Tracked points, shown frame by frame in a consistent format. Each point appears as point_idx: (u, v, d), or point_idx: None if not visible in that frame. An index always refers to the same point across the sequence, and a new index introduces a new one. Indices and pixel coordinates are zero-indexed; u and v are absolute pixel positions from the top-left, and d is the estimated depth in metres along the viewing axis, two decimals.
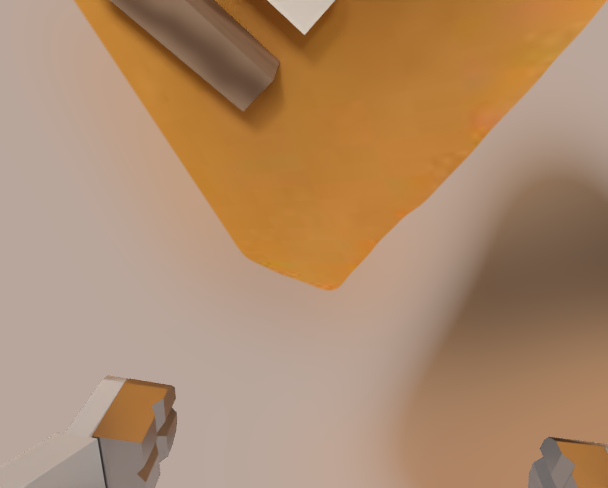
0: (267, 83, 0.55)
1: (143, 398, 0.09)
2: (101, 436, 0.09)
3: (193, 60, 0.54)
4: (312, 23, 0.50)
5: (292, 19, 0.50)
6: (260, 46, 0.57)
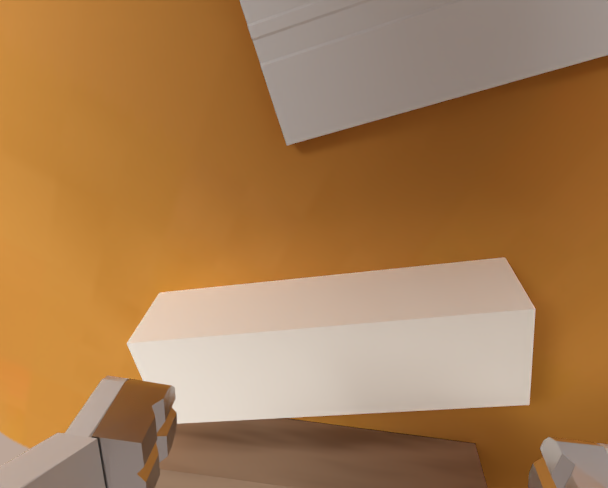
0: None
1: (143, 398, 0.09)
2: (101, 436, 0.09)
3: None
4: (527, 382, 0.23)
5: (487, 402, 0.24)
6: (432, 445, 0.31)
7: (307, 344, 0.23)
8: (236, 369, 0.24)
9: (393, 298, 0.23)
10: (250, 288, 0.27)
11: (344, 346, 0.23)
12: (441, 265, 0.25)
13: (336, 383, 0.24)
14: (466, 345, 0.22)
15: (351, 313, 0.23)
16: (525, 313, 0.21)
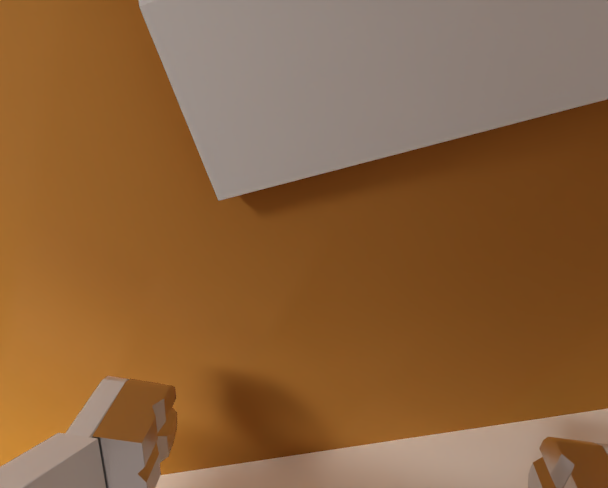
0: None
1: (144, 398, 0.09)
2: (102, 436, 0.09)
3: None
4: None
5: None
6: None
7: None
8: None
9: None
10: None
11: None
12: (530, 425, 0.12)
13: None
14: None
15: None
16: None
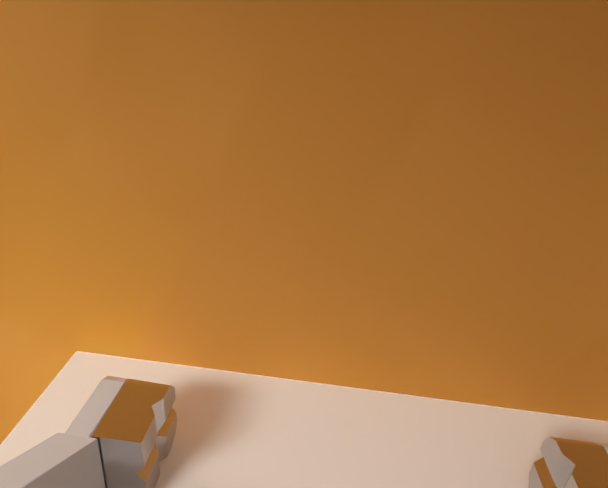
0: None
1: (143, 398, 0.09)
2: (101, 436, 0.09)
3: None
4: None
5: None
6: None
7: None
8: None
9: None
10: (279, 397, 0.12)
11: None
12: None
13: None
14: None
15: None
16: None
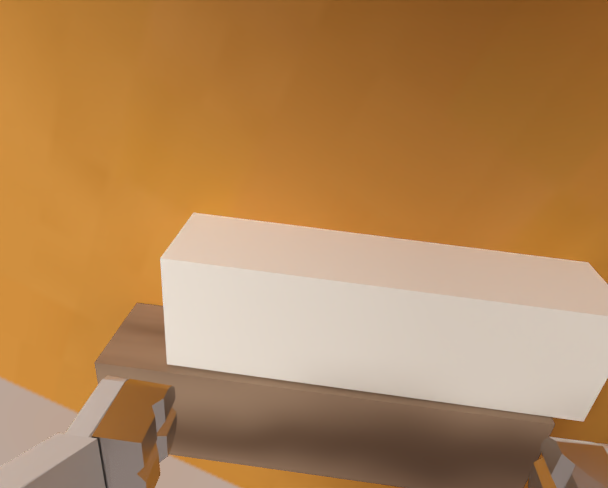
0: (544, 435, 0.22)
1: (143, 398, 0.09)
2: (101, 436, 0.09)
3: (365, 468, 0.24)
4: (592, 397, 0.21)
5: (542, 410, 0.22)
6: None
7: (376, 305, 0.20)
8: (281, 317, 0.21)
9: (476, 277, 0.21)
10: (305, 231, 0.23)
11: (416, 317, 0.20)
12: (521, 255, 0.23)
13: (389, 357, 0.21)
14: (549, 344, 0.20)
15: (432, 281, 0.20)
16: None
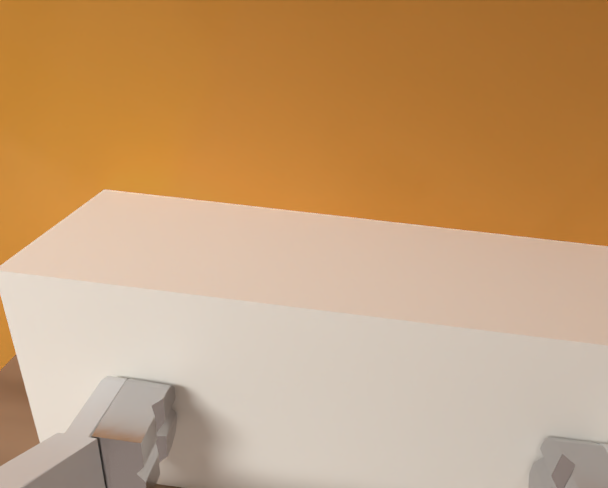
0: None
1: (143, 398, 0.09)
2: (101, 436, 0.09)
3: None
4: None
5: None
6: None
7: (454, 367, 0.09)
8: (254, 389, 0.10)
9: None
10: (303, 219, 0.13)
11: (540, 390, 0.09)
12: None
13: (473, 464, 0.10)
14: None
15: (568, 315, 0.10)
16: None
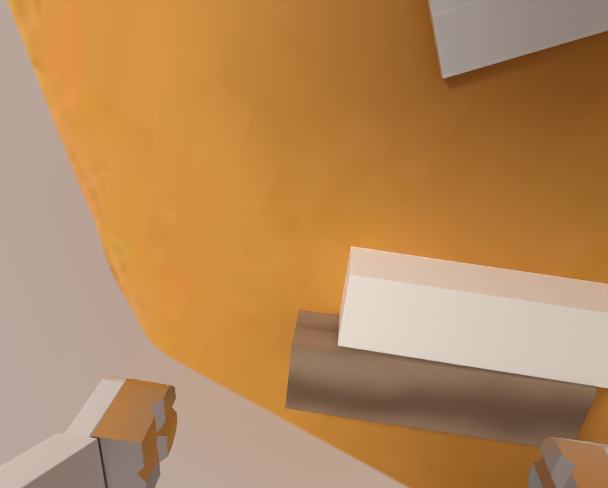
0: (590, 399, 0.33)
1: (143, 398, 0.09)
2: (101, 436, 0.09)
3: (465, 424, 0.35)
4: None
5: (588, 380, 0.33)
6: None
7: (484, 307, 0.32)
8: (421, 314, 0.32)
9: (545, 291, 0.33)
10: (427, 260, 0.35)
11: (509, 315, 0.32)
12: (570, 279, 0.35)
13: (488, 342, 0.33)
14: (593, 334, 0.32)
15: (518, 293, 0.32)
16: None
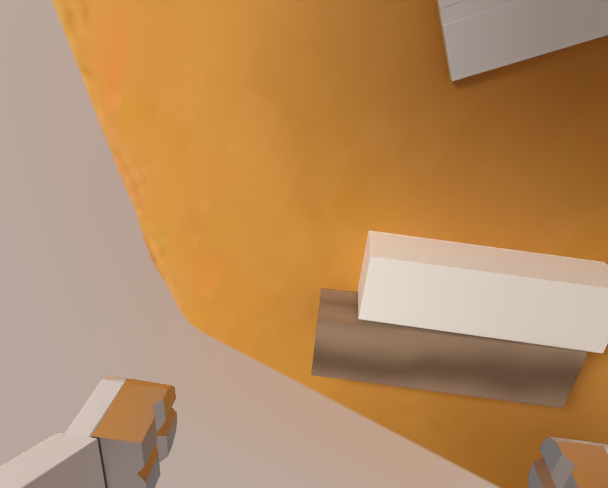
0: (581, 361, 0.38)
1: (143, 398, 0.09)
2: (101, 436, 0.09)
3: (471, 386, 0.40)
4: None
5: (579, 346, 0.38)
6: None
7: (489, 283, 0.36)
8: (433, 290, 0.37)
9: (542, 268, 0.37)
10: (437, 242, 0.39)
11: (511, 290, 0.36)
12: (564, 257, 0.39)
13: (492, 314, 0.37)
14: (584, 306, 0.36)
15: (519, 270, 0.36)
16: None
